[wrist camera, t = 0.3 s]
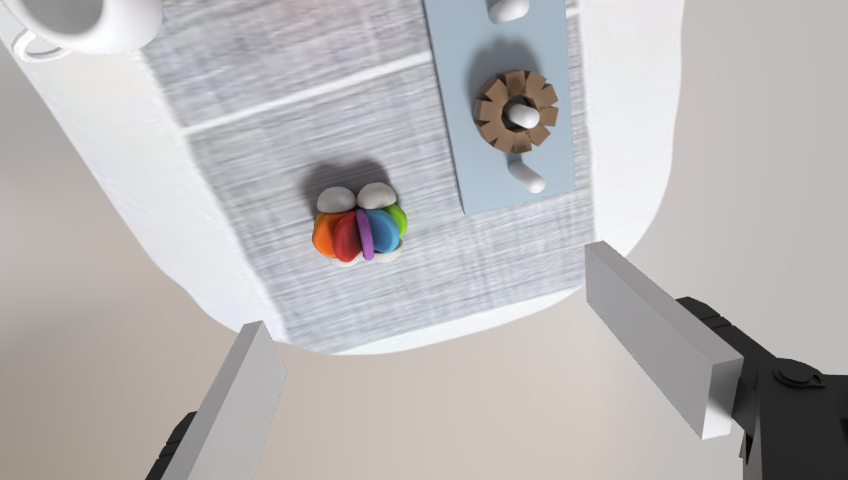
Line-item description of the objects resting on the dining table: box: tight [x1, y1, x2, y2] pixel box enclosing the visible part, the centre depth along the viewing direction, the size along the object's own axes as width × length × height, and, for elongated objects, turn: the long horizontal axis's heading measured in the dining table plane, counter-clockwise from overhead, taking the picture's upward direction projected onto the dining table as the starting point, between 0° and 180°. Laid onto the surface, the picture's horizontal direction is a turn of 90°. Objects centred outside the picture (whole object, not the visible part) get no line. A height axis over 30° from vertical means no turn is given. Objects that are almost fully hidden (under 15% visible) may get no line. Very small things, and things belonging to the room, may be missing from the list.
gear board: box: [423, 0, 575, 216], centre depth 34 cm, size 24×12×8 cm, turn 13°
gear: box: [473, 69, 559, 155], centre depth 36 cm, size 7×7×3 cm
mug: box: [1, 0, 164, 63], centre depth 29 cm, size 12×8×8 cm
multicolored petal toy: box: [312, 182, 407, 267], centre depth 39 cm, size 8×10×7 cm
